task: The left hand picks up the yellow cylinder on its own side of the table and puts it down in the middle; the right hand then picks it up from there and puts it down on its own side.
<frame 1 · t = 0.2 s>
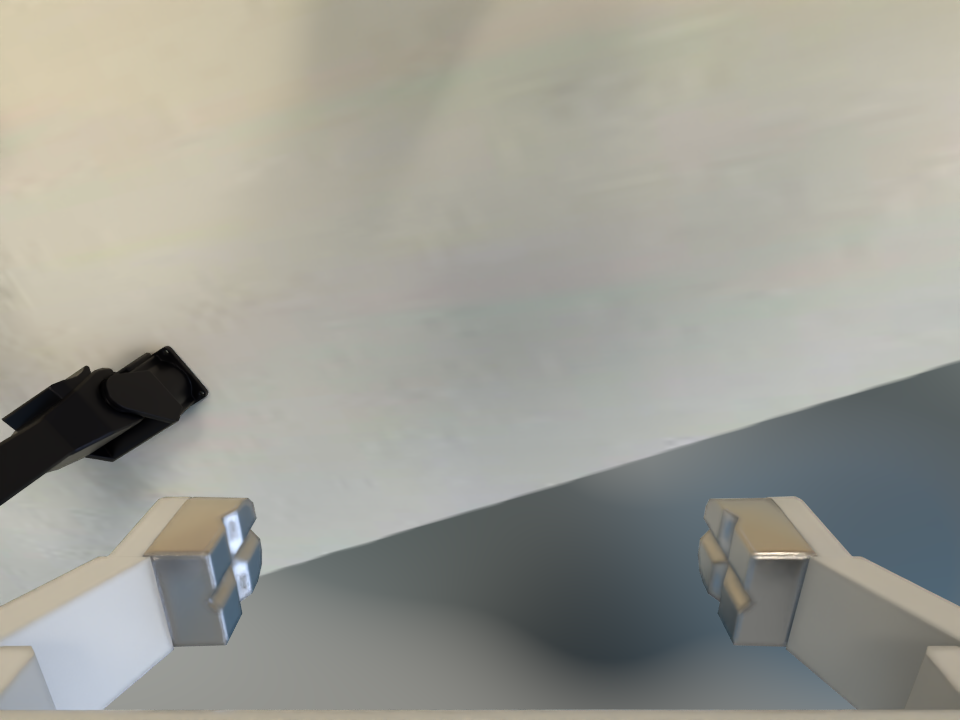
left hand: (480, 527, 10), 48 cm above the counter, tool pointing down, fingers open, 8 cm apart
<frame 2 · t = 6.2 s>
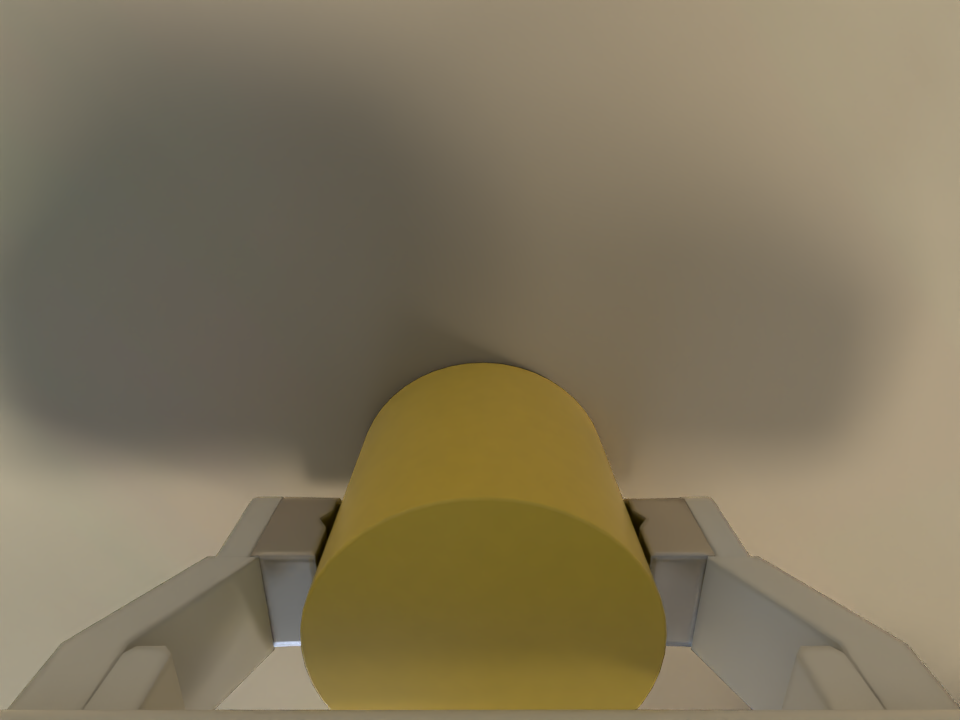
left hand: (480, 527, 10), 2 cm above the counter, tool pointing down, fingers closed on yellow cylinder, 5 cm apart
yellow cylinder: (482, 473, 12), on the counter, touching left hand
when the left hand's fingers open (3 cm above the counter, at t = 14.9 s): yellow cylinder drops 1 cm, on the counter.
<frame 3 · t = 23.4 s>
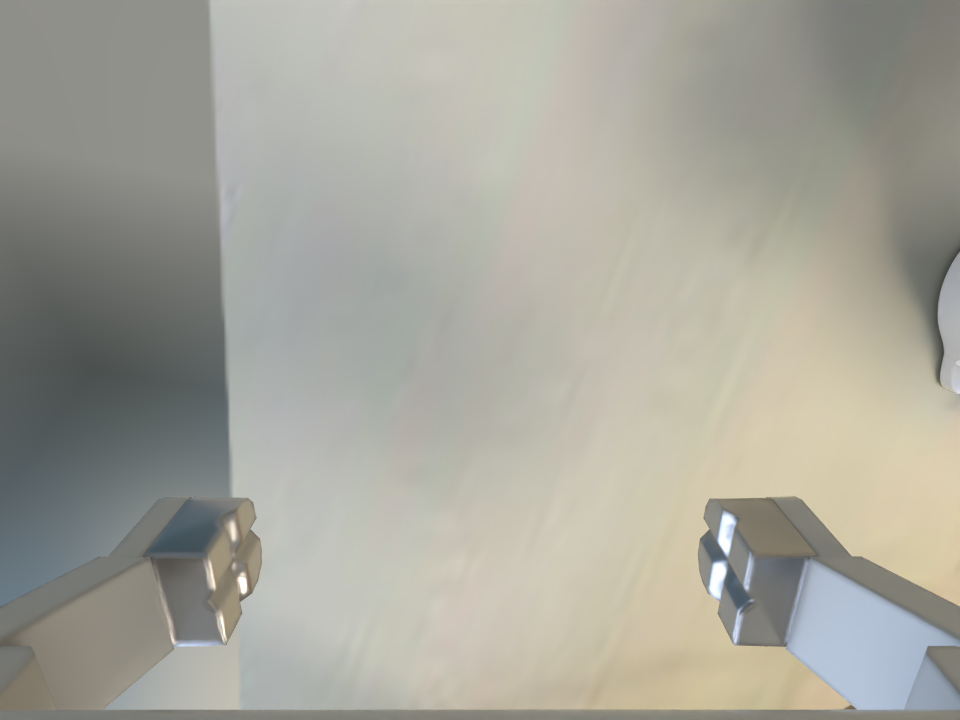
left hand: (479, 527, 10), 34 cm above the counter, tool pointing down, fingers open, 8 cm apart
when the right hand's fingers open (2 cm above the counter, at t = 27.4 s): yellow cylinder drops 1 cm, on the counter.
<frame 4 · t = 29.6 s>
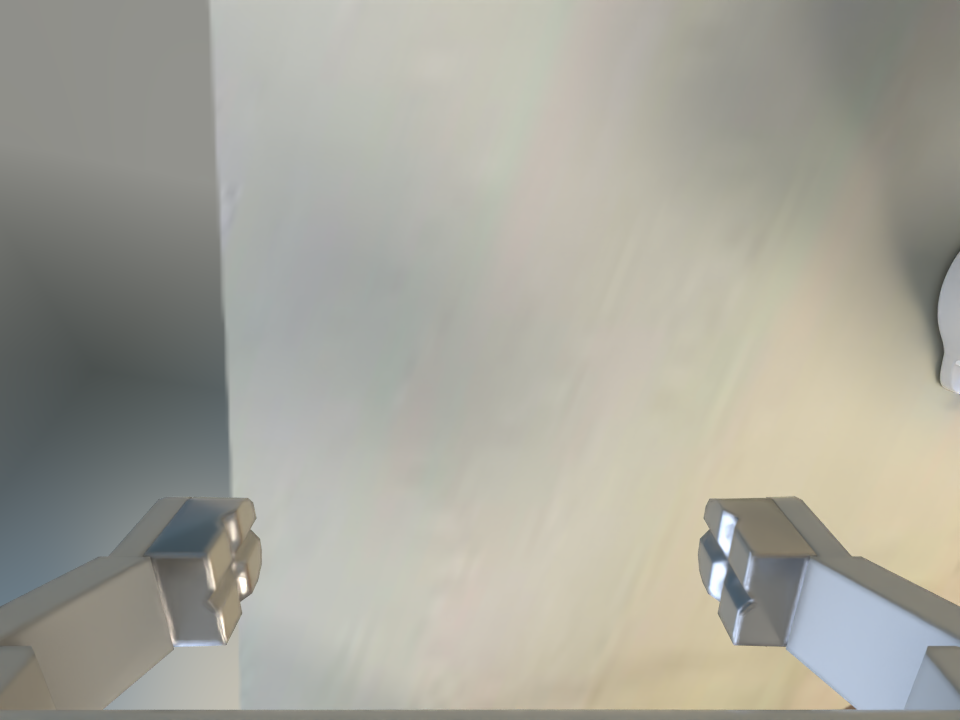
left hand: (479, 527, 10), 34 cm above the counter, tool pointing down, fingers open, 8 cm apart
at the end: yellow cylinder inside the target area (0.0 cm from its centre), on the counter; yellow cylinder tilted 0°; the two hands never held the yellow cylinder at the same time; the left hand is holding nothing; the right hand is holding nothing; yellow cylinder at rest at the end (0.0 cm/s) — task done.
